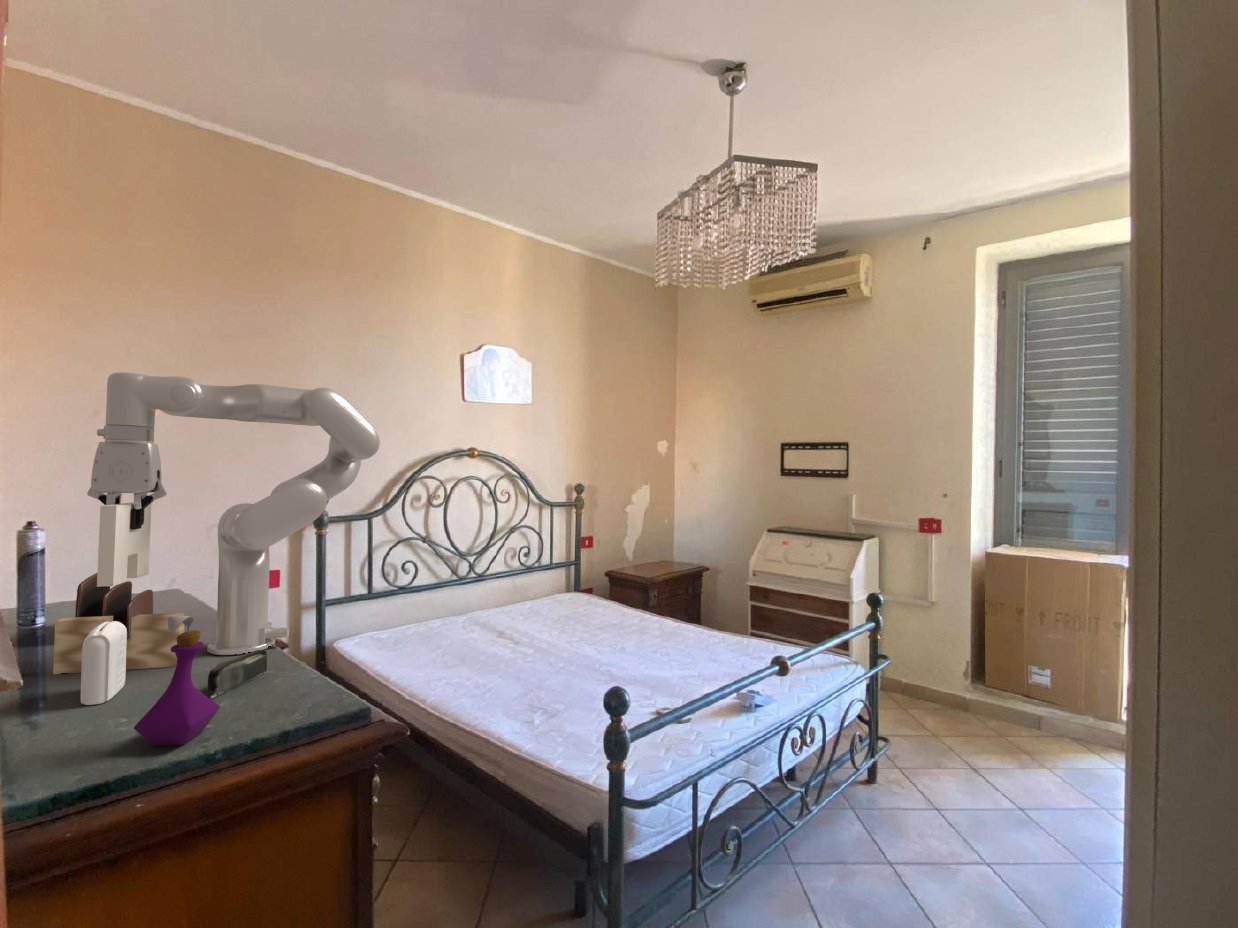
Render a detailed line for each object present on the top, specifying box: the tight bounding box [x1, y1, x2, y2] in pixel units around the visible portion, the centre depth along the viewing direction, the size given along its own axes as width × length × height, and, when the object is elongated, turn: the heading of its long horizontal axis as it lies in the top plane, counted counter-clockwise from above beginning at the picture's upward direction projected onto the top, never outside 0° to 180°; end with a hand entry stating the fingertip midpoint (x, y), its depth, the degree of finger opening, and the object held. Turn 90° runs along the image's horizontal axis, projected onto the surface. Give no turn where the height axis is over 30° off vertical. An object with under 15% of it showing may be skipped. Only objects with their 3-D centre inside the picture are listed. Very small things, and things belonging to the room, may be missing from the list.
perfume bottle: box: [133, 615, 221, 747], centre depth 86 cm, size 8×8×18 cm
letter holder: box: [74, 572, 154, 640], centre depth 142 cm, size 10×20×14 cm, turn 25°
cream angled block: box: [96, 501, 152, 587], centre depth 117 cm, size 14×2×15 cm, turn 17°
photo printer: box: [80, 621, 128, 706], centre depth 102 cm, size 10×4×12 cm, turn 26°
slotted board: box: [52, 612, 186, 675], centre depth 116 cm, size 20×2×10 cm, turn 107°
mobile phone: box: [207, 649, 268, 701], centre depth 108 cm, size 5×3×15 cm
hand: (126, 528), depth 117 cm, fingers closed on cream angled block, 2 cm apart
